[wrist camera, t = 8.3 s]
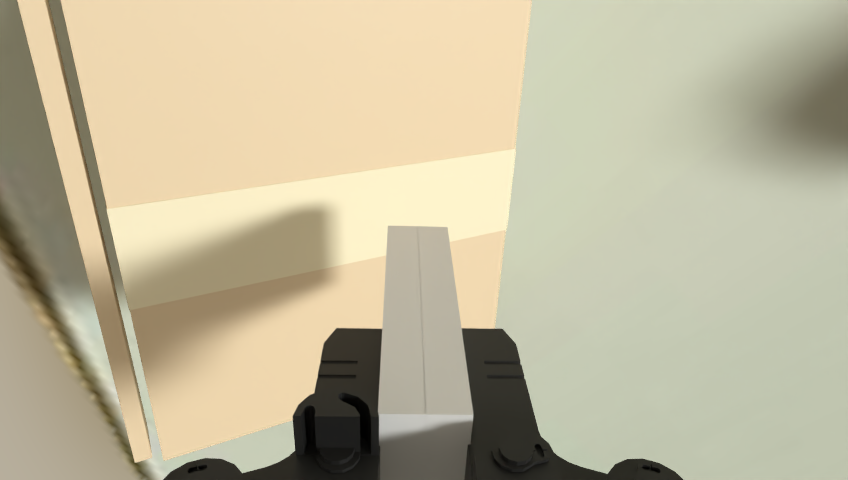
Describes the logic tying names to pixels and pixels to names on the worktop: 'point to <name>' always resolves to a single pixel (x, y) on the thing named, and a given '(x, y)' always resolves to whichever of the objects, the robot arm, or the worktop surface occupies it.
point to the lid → (274, 181)
